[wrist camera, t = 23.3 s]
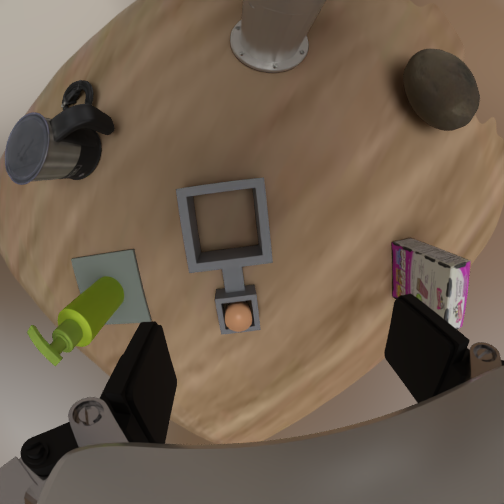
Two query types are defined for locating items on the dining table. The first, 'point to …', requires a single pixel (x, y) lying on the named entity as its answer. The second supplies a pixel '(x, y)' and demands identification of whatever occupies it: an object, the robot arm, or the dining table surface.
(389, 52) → the dining table surface
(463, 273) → the candy bar box
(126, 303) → the mat
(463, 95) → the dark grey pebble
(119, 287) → the soap dispenser
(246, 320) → the tan ball
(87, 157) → the milk frother
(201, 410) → the dining table surface
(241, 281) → the holder
